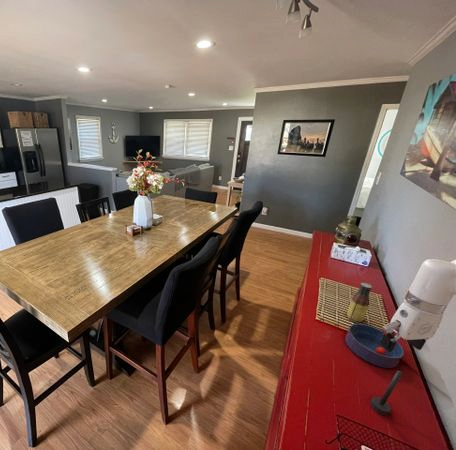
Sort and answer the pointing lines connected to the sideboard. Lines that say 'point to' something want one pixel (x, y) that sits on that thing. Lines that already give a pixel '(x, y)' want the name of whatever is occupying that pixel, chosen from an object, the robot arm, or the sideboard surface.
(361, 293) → the sauce bottle
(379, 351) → the tomato
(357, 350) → the bowl
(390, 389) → the dark grey rod
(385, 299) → the sideboard surface
